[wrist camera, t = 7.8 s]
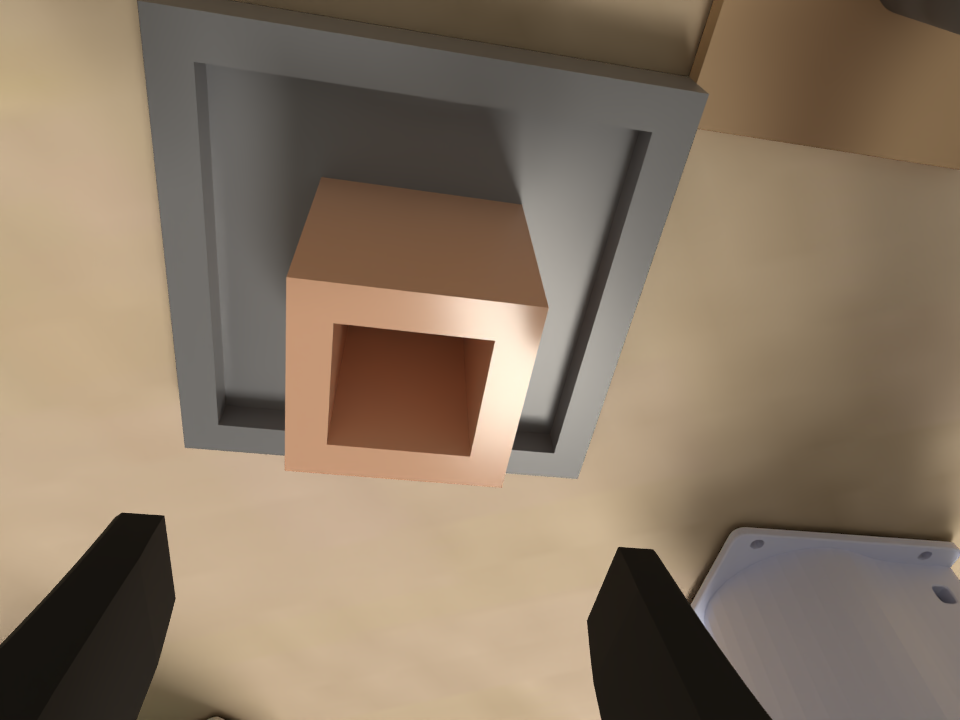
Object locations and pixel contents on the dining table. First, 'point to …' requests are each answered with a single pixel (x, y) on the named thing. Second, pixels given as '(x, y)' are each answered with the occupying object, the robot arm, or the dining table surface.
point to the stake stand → (836, 75)
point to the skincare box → (215, 718)
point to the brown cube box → (409, 335)
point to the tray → (404, 164)
